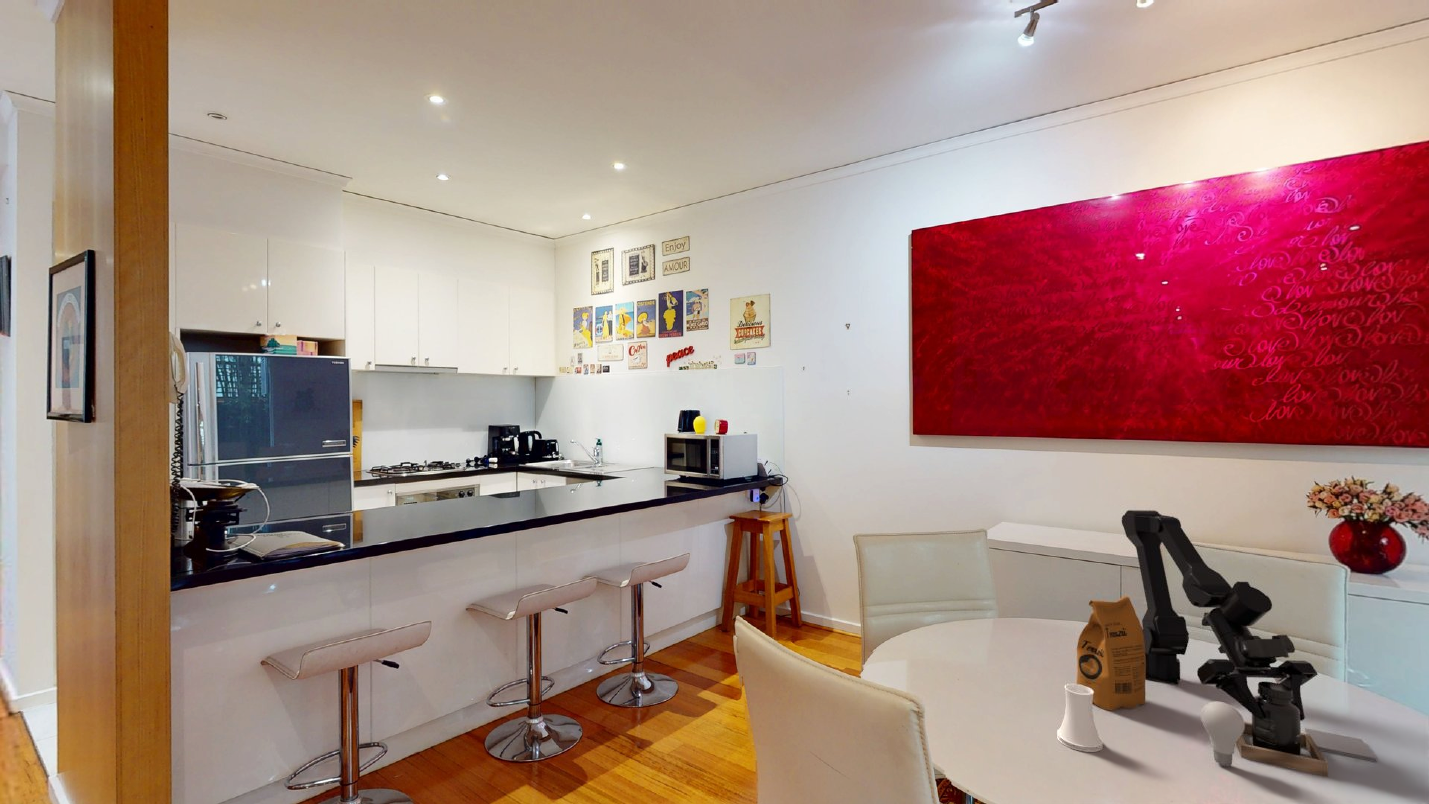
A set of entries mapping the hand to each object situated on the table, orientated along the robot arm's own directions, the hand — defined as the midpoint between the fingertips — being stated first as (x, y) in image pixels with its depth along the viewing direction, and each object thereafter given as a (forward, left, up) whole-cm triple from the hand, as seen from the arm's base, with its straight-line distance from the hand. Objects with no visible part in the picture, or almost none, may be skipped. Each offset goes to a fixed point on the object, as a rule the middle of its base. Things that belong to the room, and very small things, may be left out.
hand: (1282, 719), depth 116 cm
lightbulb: (-10, -10, -7) cm, 15 cm away
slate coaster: (+10, +10, -7) cm, 16 cm away
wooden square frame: (-1, +1, -7) cm, 7 cm away
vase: (-32, -14, -7) cm, 35 cm away
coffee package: (-27, +10, -7) cm, 29 cm away
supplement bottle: (-1, +1, -7) cm, 7 cm away
